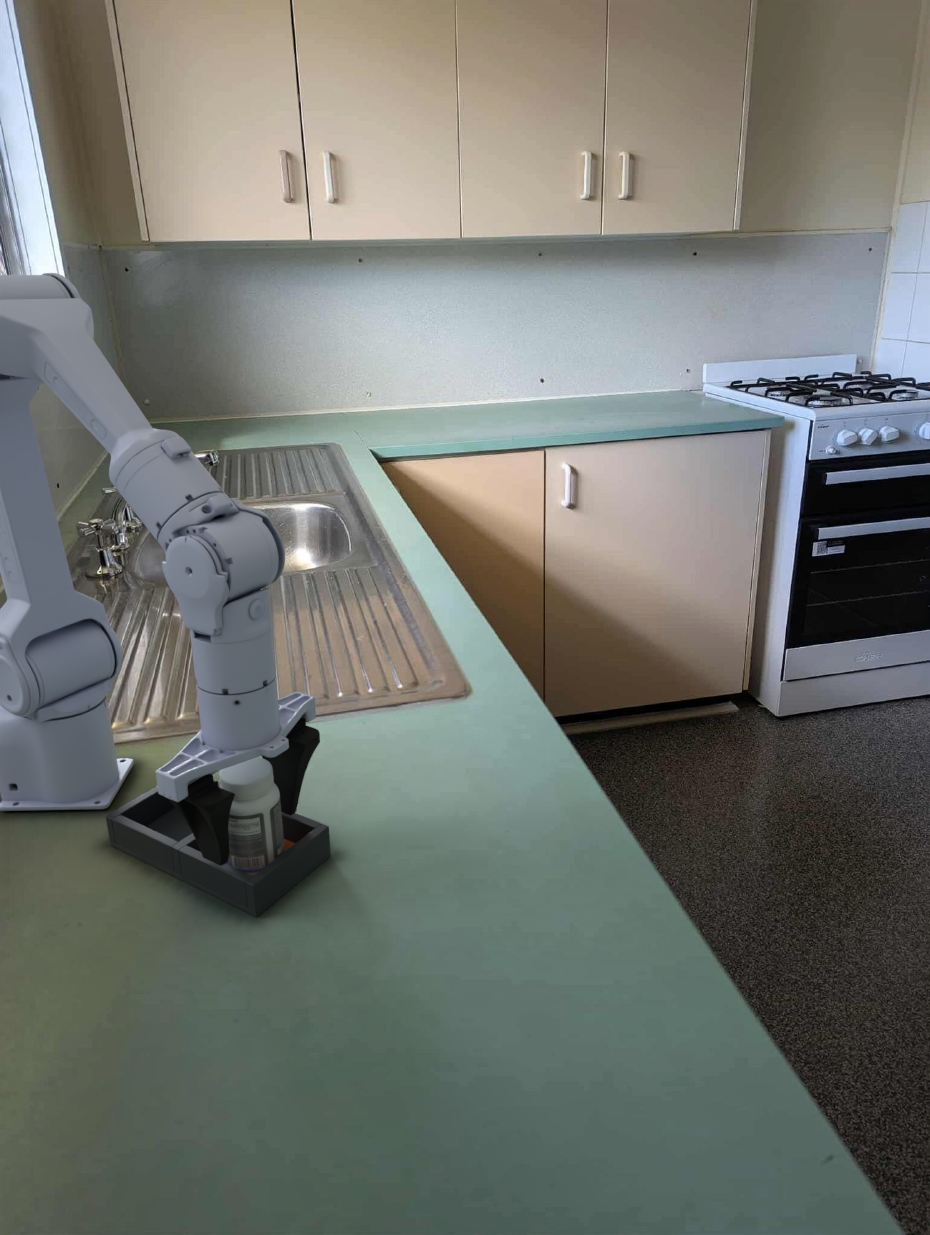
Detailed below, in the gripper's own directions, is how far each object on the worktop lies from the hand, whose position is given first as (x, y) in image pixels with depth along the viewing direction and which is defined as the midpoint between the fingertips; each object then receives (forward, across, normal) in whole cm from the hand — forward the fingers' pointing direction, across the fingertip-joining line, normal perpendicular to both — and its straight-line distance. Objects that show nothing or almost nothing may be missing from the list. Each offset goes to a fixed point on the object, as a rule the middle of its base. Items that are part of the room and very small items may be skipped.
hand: (251, 833), depth 69 cm
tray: (+3, 0, +4) cm, 5 cm away
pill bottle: (+3, 0, 0) cm, 3 cm away
